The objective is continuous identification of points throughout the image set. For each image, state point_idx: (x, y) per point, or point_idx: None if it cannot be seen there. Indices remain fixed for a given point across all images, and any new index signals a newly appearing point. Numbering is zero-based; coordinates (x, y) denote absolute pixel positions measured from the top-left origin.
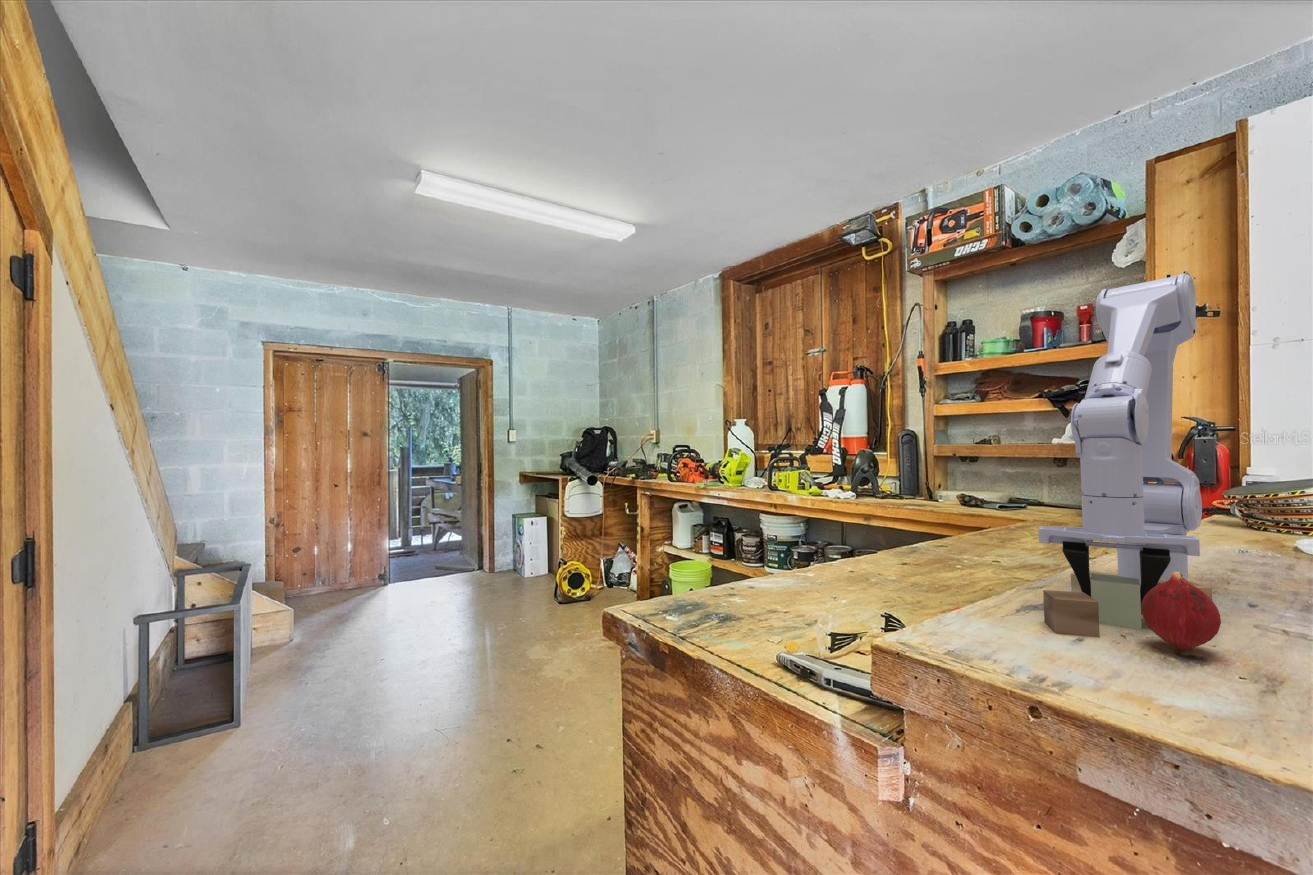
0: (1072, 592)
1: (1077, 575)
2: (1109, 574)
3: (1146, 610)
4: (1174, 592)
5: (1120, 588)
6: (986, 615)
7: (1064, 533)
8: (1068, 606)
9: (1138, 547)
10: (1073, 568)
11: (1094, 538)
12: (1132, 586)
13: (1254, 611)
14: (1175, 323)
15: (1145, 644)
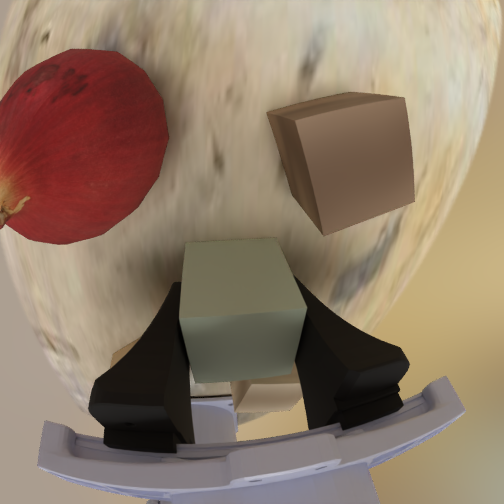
0: (353, 216)
1: (338, 318)
2: (248, 407)
3: (150, 85)
4: (34, 85)
5: (228, 304)
6: (443, 164)
7: (422, 425)
8: (363, 100)
9: (188, 452)
10: (357, 330)
11: (349, 442)
12: (198, 314)
13: None
14: None
15: (174, 121)
